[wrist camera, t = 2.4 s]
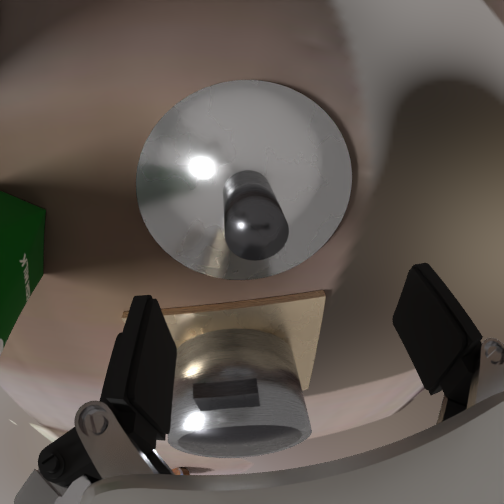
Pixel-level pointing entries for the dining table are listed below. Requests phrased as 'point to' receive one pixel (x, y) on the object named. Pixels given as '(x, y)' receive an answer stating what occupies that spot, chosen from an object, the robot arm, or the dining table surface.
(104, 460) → the robot arm
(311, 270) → the dining table surface
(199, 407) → the pot
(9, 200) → the soya milk
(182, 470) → the tin
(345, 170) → the lid
